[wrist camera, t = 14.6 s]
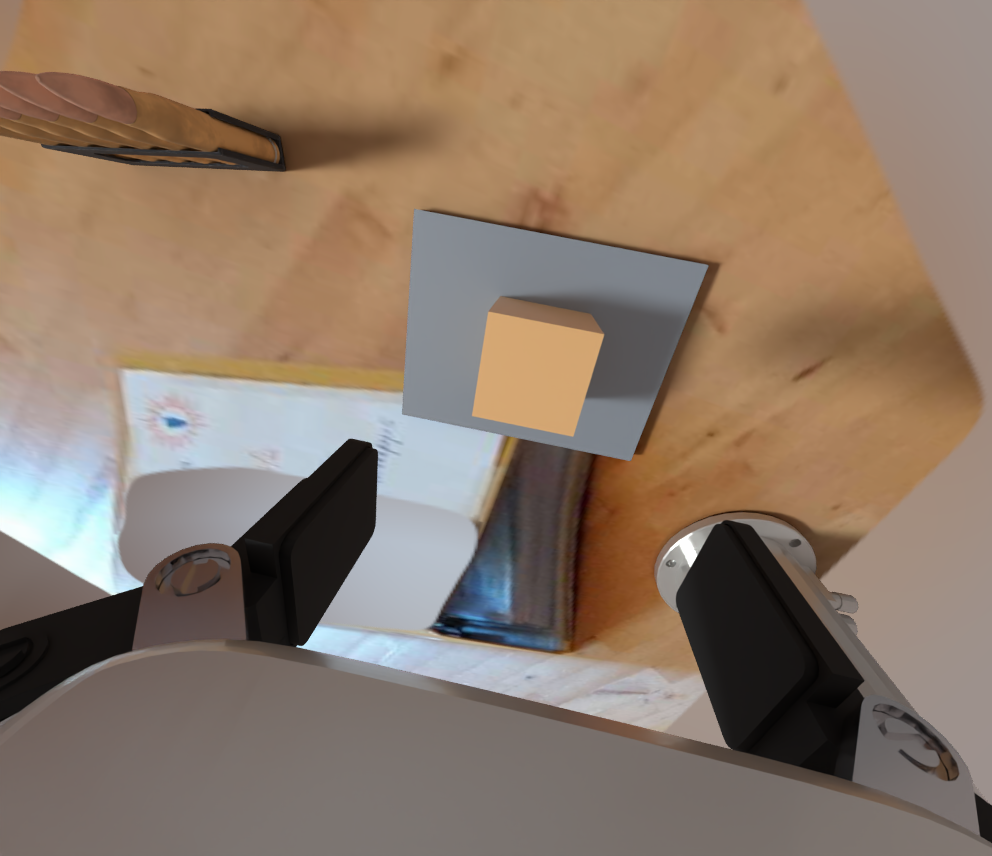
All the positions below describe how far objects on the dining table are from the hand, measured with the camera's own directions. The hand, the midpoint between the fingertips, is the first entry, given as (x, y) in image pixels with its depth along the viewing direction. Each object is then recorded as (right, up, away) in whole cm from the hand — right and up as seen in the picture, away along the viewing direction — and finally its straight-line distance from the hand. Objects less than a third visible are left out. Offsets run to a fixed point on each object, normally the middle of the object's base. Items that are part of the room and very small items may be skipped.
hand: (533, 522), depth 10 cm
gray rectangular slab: (+2, +8, +16) cm, 18 cm away
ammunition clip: (-19, +20, +13) cm, 31 cm away
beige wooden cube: (+2, +8, +15) cm, 17 cm away
